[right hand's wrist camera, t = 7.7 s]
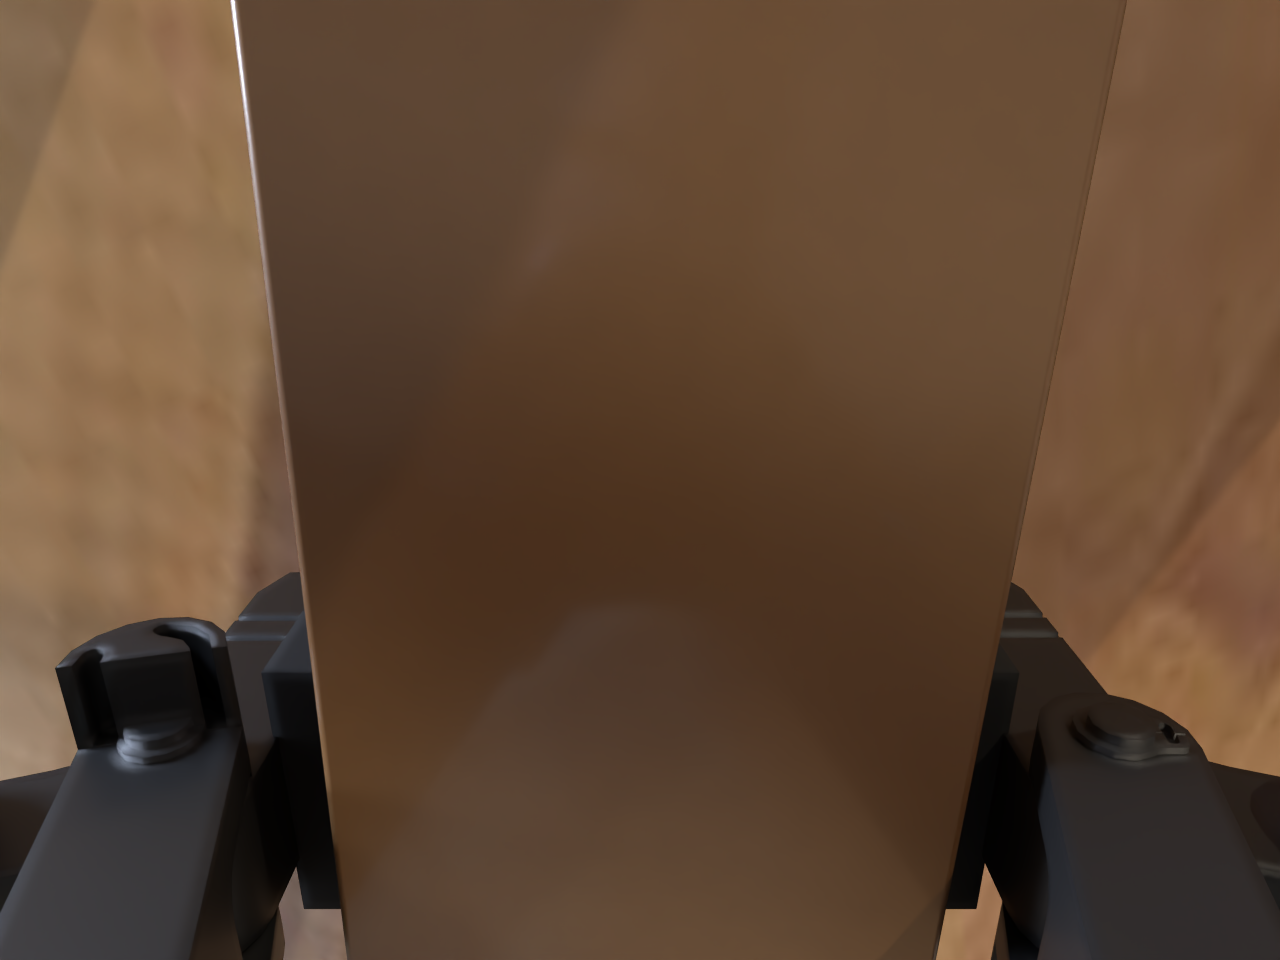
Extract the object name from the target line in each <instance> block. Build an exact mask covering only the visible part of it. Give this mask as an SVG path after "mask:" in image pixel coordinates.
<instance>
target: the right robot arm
mask: <svg viewBox="0 0 1280 960" xmlns="http://www.w3.org/2000/svg"><path fill="white" fill-rule="evenodd" d="M55 669H56V673H57V677H58V680H59V684H60V687H61V691H62V694H63V698H64V701H65V705H66V709H67V712H68V716H69V719H70V723H71V726H72V730H73V733H74V737H75V741H76V744H77V748H78V751H77V753H76V755H75V757H74V759H73V761H72V763H71V766H68V767H64V768H60V769H57V770H53V771H48V772H43V773H38V774H33V775H28V776H23V777H18V778H13V779H8V780H3V781H0V960H283V956H284V948H285V940H284V933H283V926H282V921H281V916H280V911H279V906H278V905H279V903H280V900H281V898H282V896H283V894H284V892H285V890H286V887H287V885H288V883H289V881H290V879H291V876H292V874H293V872H294V870H295V868H296V867H297V872H298V878H299V883H300V889H301V894H302V900H303V905H304V909H341V905H340V897H339V888H338V880H337V872H336V864H335V856H334V847H333V839H332V831H331V823H330V815H329V806H328V798H327V790H326V782H325V774H324V766H323V757H322V749H321V741H320V733H319V725H318V716H317V708H316V700H315V692H314V684H313V675H312V667H311V659H310V651H309V643H308V634H307V626H306V618H305V610H304V602H303V593H302V585H301V577H300V572H290V573H289V574H287V575H285V576H284V577H282V578H280V579H279V580H277V581H276V582H274V583H272V584H271V585H269V586H268V587H266V588H264V589H263V590H261V591H259V592H258V593H257V594H256V595H255V596H254V598H253V599H252V600H251V601H250V603H249V604H248V605H247V606H246V608H245V609H244V610H243V611H242V613H241V614H240V615H239V620H238V621H235V622H234V623H233V624H232V625H231V627H230V628H229V629H228V630H227V632H226V633H225V632H224V631H223V630H222V629H220V628H219V627H218V626H216V625H215V624H214V623H212V622H209V621H204V620H200V619H195V618H190V617H180V618H158V619H153V620H148V621H143V622H138V623H133V624H128V625H125V626H123V627H120V628H117V629H114V630H112V631H109V632H106V633H104V634H101V635H98V636H96V637H94V638H93V639H91V640H89V641H88V642H86V643H84V644H82V645H81V646H79V647H77V648H76V649H74V650H72V651H71V652H70V653H69V654H68V655H67V656H66V657H65V658H64V659H63V660H62V661H61V663H60V664H59V665H58V666H57V667H56V668H55ZM984 864H986V866H987V868H988V871H989V873H990V875H991V877H992V879H993V881H994V884H995V886H996V888H997V890H998V892H999V894H1000V897H1001V899H1002V906H1001V911H1000V916H999V921H998V926H997V931H996V936H995V941H994V946H993V951H992V957H991V960H1280V777H1278V776H1273V775H1268V774H1263V773H1258V772H1253V771H1248V770H1243V769H1238V768H1233V767H1228V766H1224V765H1220V764H1217V763H1213V762H1209V761H1208V760H1207V758H1206V756H1205V753H1204V751H1203V749H1202V748H1201V747H1200V745H1199V744H1198V743H1197V741H1196V740H1195V739H1194V738H1193V736H1192V735H1191V734H1190V733H1189V731H1188V730H1187V729H1185V728H1184V727H1182V726H1181V725H1180V724H1178V723H1177V722H1175V721H1174V720H1172V719H1171V718H1169V717H1168V716H1167V715H1165V714H1164V713H1162V712H1159V711H1157V710H1155V709H1152V708H1150V707H1148V706H1145V705H1143V704H1141V703H1138V702H1136V701H1134V700H1129V699H1125V698H1121V697H1117V696H1112V695H1108V694H1107V693H1106V691H1105V690H1104V689H1103V688H1102V686H1101V685H1100V684H1099V683H1098V682H1097V680H1096V679H1095V678H1094V677H1093V675H1092V674H1091V673H1090V672H1089V670H1088V669H1087V668H1086V667H1085V665H1084V664H1083V663H1082V662H1081V660H1080V659H1079V658H1078V657H1077V655H1076V654H1075V653H1074V652H1073V650H1072V649H1071V648H1070V647H1069V646H1068V644H1067V643H1066V642H1065V641H1064V639H1063V638H1058V632H1057V631H1056V629H1055V628H1054V627H1053V626H1052V624H1051V623H1050V622H1049V621H1048V619H1047V618H1043V617H1042V612H1041V611H1040V609H1039V608H1038V607H1037V606H1036V605H1035V603H1034V602H1033V601H1032V600H1031V598H1030V597H1029V596H1028V595H1027V593H1026V592H1025V591H1024V590H1023V589H1022V588H1020V587H1018V586H1017V585H1015V584H1013V583H1012V582H1011V585H1010V590H1009V595H1008V600H1007V605H1006V610H1005V615H1004V620H1003V625H1002V630H1001V635H1000V640H999V645H998V650H997V655H996V660H995V665H994V670H993V675H992V680H991V685H990V690H989V695H988V700H987V705H986V710H985V715H984V720H983V725H982V730H981V735H980V740H979V745H978V750H977V755H976V760H975V765H974V770H973V775H972V780H971V785H970V790H969V795H968V800H967V805H966V810H965V815H964V820H963V825H962V830H961V835H960V840H959V845H958V850H957V855H956V860H955V865H954V870H953V875H952V880H951V885H950V890H949V895H948V900H947V905H946V909H976V908H977V903H978V897H979V892H980V886H981V881H982V875H983V870H984Z"/></svg>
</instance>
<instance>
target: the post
mask: <svg viewBox="0 0 1280 960" xmlns="http://www.w3.org/2000/svg"><path fill="white" fill-rule="evenodd" d="M1126 3H1127V0H230V4H231V12H232V20H233V28H234V36H235V45H236V53H237V61H238V69H239V77H240V85H241V94H242V102H243V110H244V118H245V126H246V135H247V143H248V151H249V159H250V167H251V176H252V184H253V192H254V200H255V208H256V217H257V225H258V233H259V241H260V249H261V258H262V266H263V274H264V282H265V290H266V299H267V307H268V315H269V323H270V331H271V339H272V348H273V356H274V364H275V372H276V380H277V389H278V397H279V405H280V413H281V421H282V430H283V438H284V446H285V454H286V462H287V471H288V479H289V487H290V495H291V503H292V512H293V520H294V528H295V536H296V544H297V552H298V561H299V569H300V577H301V585H302V593H303V602H304V610H305V618H306V626H307V634H308V643H309V651H310V659H311V667H312V675H313V684H314V692H315V700H316V708H317V716H318V725H319V733H320V741H321V749H322V757H323V766H324V774H325V782H326V790H327V798H328V806H329V815H330V823H331V831H332V839H333V847H334V856H335V864H336V872H337V880H338V888H339V897H340V905H341V913H342V921H343V929H344V938H345V946H346V954H347V960H936V955H937V950H938V945H939V940H940V935H941V930H942V925H943V920H944V915H945V910H946V905H947V900H948V895H949V890H950V885H951V880H952V875H953V870H954V865H955V860H956V855H957V850H958V845H959V840H960V835H961V830H962V825H963V820H964V815H965V810H966V805H967V800H968V795H969V790H970V785H971V780H972V775H973V770H974V765H975V760H976V755H977V750H978V745H979V740H980V735H981V730H982V725H983V720H984V715H985V710H986V705H987V700H988V695H989V690H990V685H991V680H992V675H993V670H994V665H995V660H996V655H997V650H998V645H999V640H1000V635H1001V630H1002V625H1003V620H1004V615H1005V610H1006V605H1007V600H1008V595H1009V590H1010V585H1011V580H1012V574H1013V569H1014V564H1015V559H1016V554H1017V549H1018V544H1019V539H1020V534H1021V529H1022V524H1023V519H1024V514H1025V509H1026V504H1027V499H1028V494H1029V489H1030V484H1031V479H1032V474H1033V469H1034V464H1035V459H1036V454H1037V449H1038V444H1039V439H1040V434H1041V429H1042V424H1043V419H1044V414H1045V409H1046V404H1047V399H1048V394H1049V389H1050V384H1051V379H1052V374H1053V369H1054V364H1055V359H1056V354H1057V349H1058V344H1059V339H1060V334H1061V329H1062V324H1063V319H1064V314H1065V309H1066V304H1067V299H1068V294H1069V289H1070V284H1071V279H1072V274H1073V269H1074V264H1075V259H1076V254H1077V249H1078V244H1079V239H1080V234H1081V229H1082V224H1083V219H1084V214H1085V209H1086V204H1087V199H1088V194H1089V189H1090V184H1091V179H1092V174H1093V169H1094V164H1095V159H1096V154H1097V149H1098V143H1099V138H1100V133H1101V128H1102V123H1103V118H1104V113H1105V108H1106V103H1107V98H1108V93H1109V88H1110V83H1111V78H1112V73H1113V68H1114V63H1115V58H1116V53H1117V48H1118V43H1119V38H1120V33H1121V28H1122V23H1123V18H1124V13H1125V8H1126Z"/></svg>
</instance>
